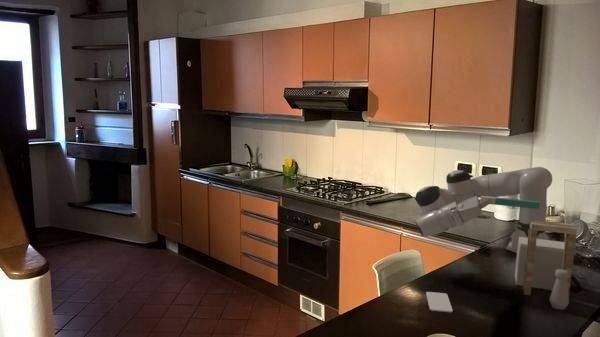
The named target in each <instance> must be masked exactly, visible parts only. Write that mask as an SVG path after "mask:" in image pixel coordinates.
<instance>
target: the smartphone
mask: <svg viewBox="0 0 600 337" xmlns="http://www.w3.org/2000/svg"><path fill="white" fill-rule="evenodd" d="M425 294H426V299H427V303H428V307H429V310H430V311H431V312H442V313H443V312H444V313H453V308H452V305H451V302H450V298H449V296H448V294H447V293H444V292H433V291H426V292H425Z"/></svg>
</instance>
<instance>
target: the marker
mask: <svg viewBox="0 0 600 337" xmlns="http://www.w3.org/2000/svg"><path fill="white" fill-rule="evenodd" d="M489 198H491V200H492V203H491V204H490V205H493V206H494V205H495V206H504V207H515V208H520V207H523V208H533V209H539V205H540V202H539V201H530V200H520V198H518V199H516V198H507V197H488V196H481V198H480V199H481V200H480V202H483V201H485V200H487V199H489Z"/></svg>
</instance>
